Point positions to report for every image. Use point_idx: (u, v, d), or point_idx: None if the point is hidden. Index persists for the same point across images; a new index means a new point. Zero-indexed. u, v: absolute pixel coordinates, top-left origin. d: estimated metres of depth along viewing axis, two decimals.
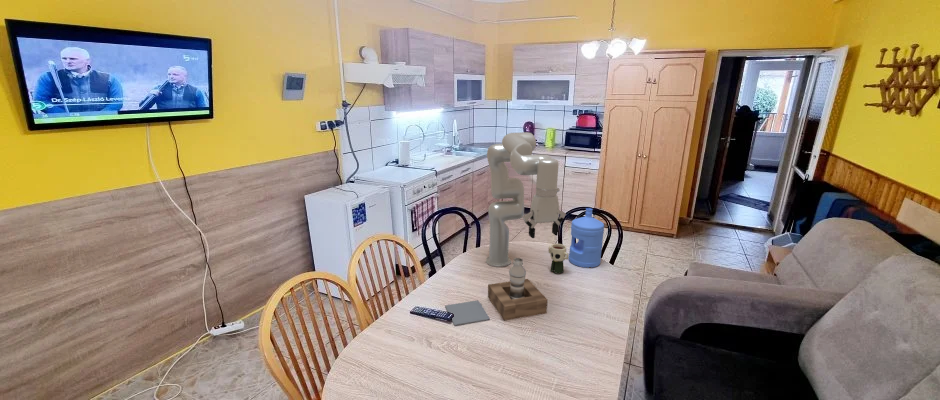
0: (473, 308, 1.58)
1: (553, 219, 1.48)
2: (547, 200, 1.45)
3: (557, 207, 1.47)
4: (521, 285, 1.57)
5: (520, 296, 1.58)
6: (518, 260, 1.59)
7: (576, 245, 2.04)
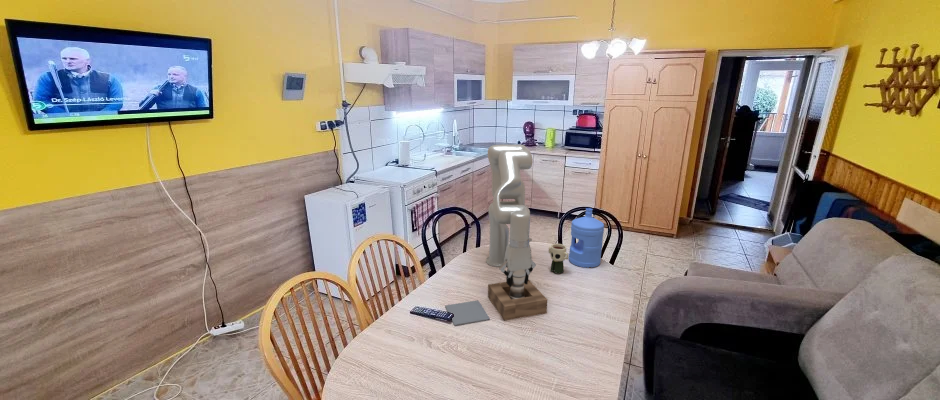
0: (473, 308, 1.58)
1: (526, 267, 1.56)
2: (519, 251, 1.53)
3: (530, 256, 1.55)
4: (521, 285, 1.57)
5: (520, 296, 1.58)
6: None
7: (576, 245, 2.04)
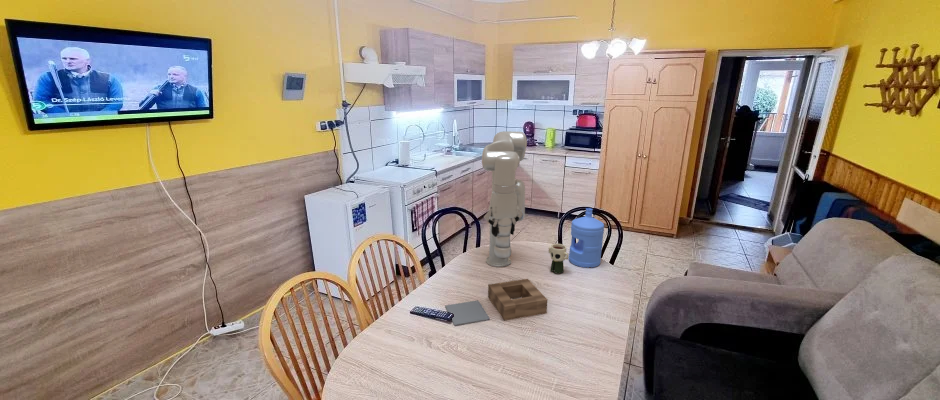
0: (473, 308, 1.58)
1: (512, 216, 1.48)
2: (505, 197, 1.45)
3: (516, 203, 1.47)
4: (507, 235, 1.49)
5: (506, 247, 1.50)
6: None
7: (576, 245, 2.04)
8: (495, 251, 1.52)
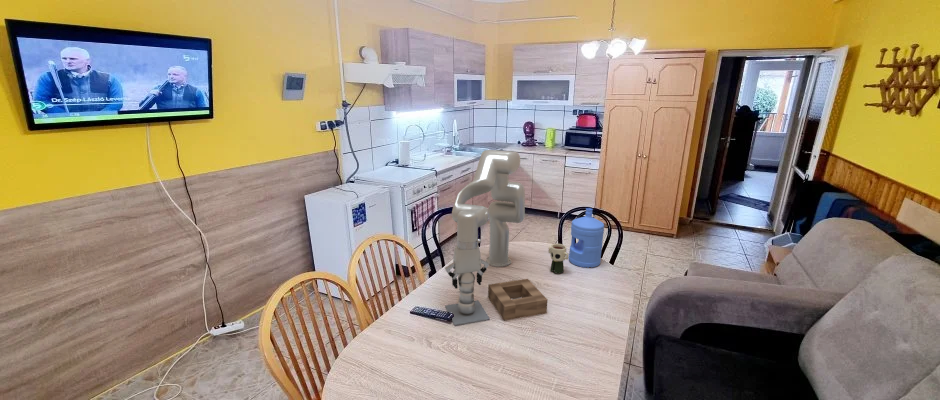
0: None
1: (475, 270, 1.50)
2: (467, 252, 1.46)
3: (479, 258, 1.49)
4: (470, 291, 1.51)
5: (469, 303, 1.52)
6: None
7: (576, 245, 2.04)
8: (459, 306, 1.54)
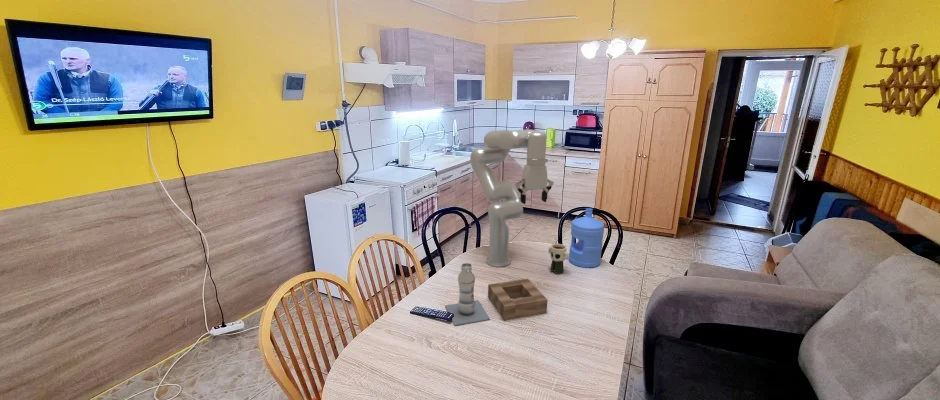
0: None
1: (542, 187, 1.66)
2: (536, 169, 1.62)
3: (546, 176, 1.65)
4: (470, 291, 1.51)
5: (469, 303, 1.52)
6: (467, 265, 1.52)
7: (576, 245, 2.04)
8: (459, 306, 1.54)
